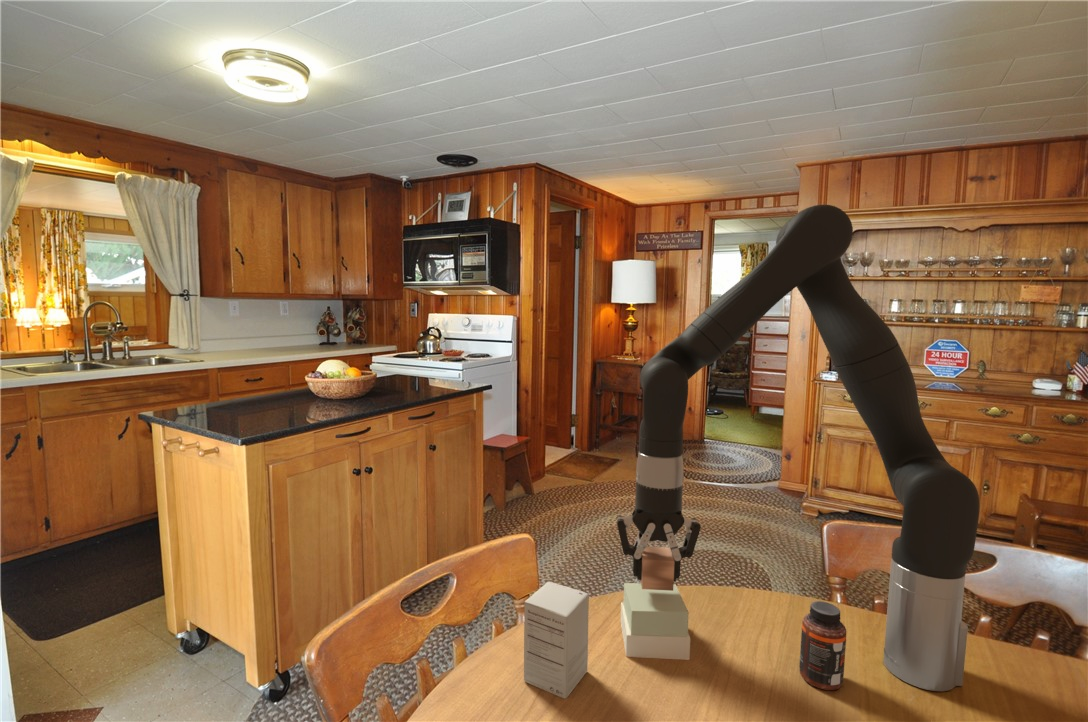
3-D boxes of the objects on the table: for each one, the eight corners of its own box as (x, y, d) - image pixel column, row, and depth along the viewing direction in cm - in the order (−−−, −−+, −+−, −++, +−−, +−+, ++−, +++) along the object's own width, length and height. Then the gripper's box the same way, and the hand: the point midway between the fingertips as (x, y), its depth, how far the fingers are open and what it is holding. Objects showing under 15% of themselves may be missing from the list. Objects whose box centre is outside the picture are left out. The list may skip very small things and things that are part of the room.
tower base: (677, 626, 96) (678, 604, 96) (689, 662, 86) (690, 638, 86) (620, 623, 96) (621, 602, 96) (626, 659, 87) (626, 635, 86)
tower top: (674, 606, 95) (675, 584, 95) (687, 636, 86) (688, 612, 86) (623, 605, 95) (624, 583, 95) (631, 634, 86) (631, 610, 86)
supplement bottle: (848, 695, 78) (854, 621, 77) (804, 689, 80) (809, 616, 79) (835, 669, 84) (840, 599, 83) (794, 663, 85) (798, 595, 84)
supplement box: (547, 655, 86) (548, 579, 85) (588, 671, 83) (590, 592, 82) (521, 682, 80) (522, 600, 79) (565, 701, 76) (567, 615, 75)
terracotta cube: (668, 575, 93) (669, 547, 92) (673, 590, 88) (674, 561, 87) (638, 574, 93) (639, 546, 93) (642, 589, 88) (643, 559, 88)
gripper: (698, 474, 92) (694, 570, 94) (613, 471, 93) (611, 566, 95) (709, 488, 85) (704, 592, 86) (617, 485, 86) (613, 588, 87)
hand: (655, 578), depth 90 cm, fingers closed on terracotta cube, 5 cm apart
